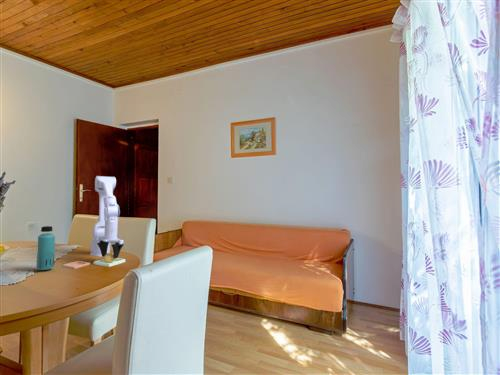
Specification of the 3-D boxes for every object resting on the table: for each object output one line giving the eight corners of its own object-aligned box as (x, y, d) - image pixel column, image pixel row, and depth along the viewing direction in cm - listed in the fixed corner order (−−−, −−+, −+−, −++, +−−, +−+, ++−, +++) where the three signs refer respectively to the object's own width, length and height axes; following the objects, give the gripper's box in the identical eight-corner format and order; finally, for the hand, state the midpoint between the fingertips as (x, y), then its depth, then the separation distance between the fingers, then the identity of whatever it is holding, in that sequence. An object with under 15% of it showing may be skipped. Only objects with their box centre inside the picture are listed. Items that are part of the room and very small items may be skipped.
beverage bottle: (44, 274, 117) (46, 227, 117) (31, 272, 119) (33, 226, 119) (57, 269, 124) (59, 225, 124) (45, 268, 125) (47, 225, 125)
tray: (93, 265, 133) (93, 261, 133) (110, 260, 142) (110, 256, 142) (109, 267, 129) (109, 264, 129) (125, 262, 139) (125, 259, 139)
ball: (101, 263, 134) (101, 253, 134) (110, 261, 139) (110, 251, 139) (108, 265, 132) (108, 254, 132) (117, 262, 137) (117, 252, 137)
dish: (62, 267, 127) (62, 264, 127) (78, 263, 135) (78, 260, 135) (74, 269, 125) (74, 267, 125) (90, 265, 132) (90, 262, 132)
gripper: (93, 229, 135) (92, 257, 134) (115, 232, 130) (114, 260, 130) (105, 227, 141) (104, 254, 141) (127, 230, 136) (126, 257, 136)
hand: (109, 257), depth 136 cm, fingers open, 7 cm apart
